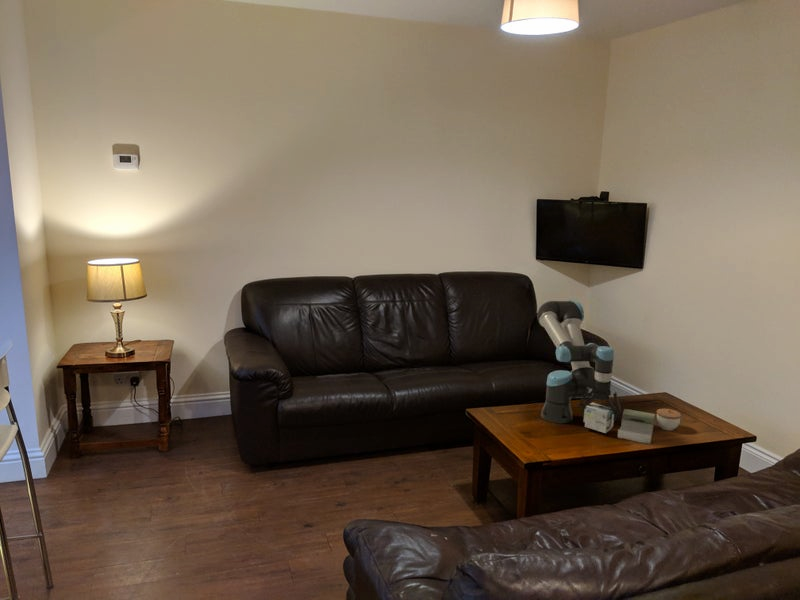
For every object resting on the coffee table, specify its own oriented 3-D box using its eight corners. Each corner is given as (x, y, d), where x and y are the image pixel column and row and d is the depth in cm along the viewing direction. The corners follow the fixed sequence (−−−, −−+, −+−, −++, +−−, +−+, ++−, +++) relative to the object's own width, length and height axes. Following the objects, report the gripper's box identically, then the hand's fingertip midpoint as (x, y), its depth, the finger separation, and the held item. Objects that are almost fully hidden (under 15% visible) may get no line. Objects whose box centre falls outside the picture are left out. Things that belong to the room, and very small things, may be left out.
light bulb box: (611, 429, 281) (614, 408, 279) (605, 433, 276) (607, 412, 274) (590, 422, 288) (592, 401, 286) (583, 426, 284) (585, 405, 281)
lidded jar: (681, 433, 282) (684, 414, 280) (657, 431, 284) (659, 412, 282) (676, 424, 292) (678, 406, 290) (653, 422, 294) (655, 404, 292)
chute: (617, 437, 276) (618, 429, 275) (621, 426, 289) (622, 418, 289) (650, 443, 270) (651, 436, 269) (652, 431, 283) (653, 424, 282)
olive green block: (621, 425, 290) (622, 413, 289) (623, 420, 296) (624, 408, 295) (652, 431, 284) (653, 419, 283) (653, 425, 290) (654, 414, 289)
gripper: (574, 377, 279) (570, 421, 284) (629, 387, 269) (624, 431, 273) (577, 373, 286) (573, 415, 290) (630, 381, 275) (626, 425, 280)
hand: (598, 423), depth 282 cm, fingers closed on light bulb box, 12 cm apart
